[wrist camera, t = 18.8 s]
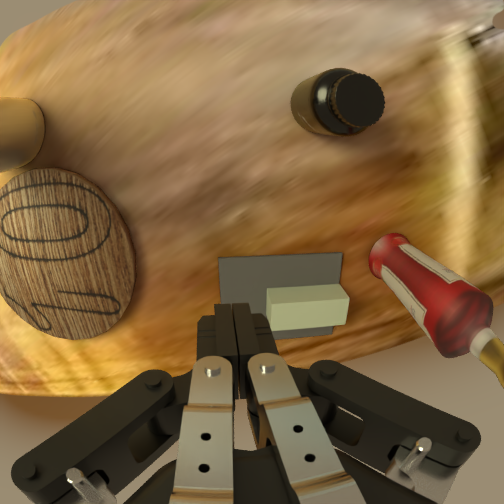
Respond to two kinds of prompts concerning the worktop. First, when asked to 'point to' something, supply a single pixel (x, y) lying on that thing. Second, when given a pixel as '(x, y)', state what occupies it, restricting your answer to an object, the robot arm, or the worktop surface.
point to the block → (306, 307)
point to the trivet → (64, 254)
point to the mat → (276, 281)
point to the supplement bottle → (337, 102)
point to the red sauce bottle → (439, 301)
